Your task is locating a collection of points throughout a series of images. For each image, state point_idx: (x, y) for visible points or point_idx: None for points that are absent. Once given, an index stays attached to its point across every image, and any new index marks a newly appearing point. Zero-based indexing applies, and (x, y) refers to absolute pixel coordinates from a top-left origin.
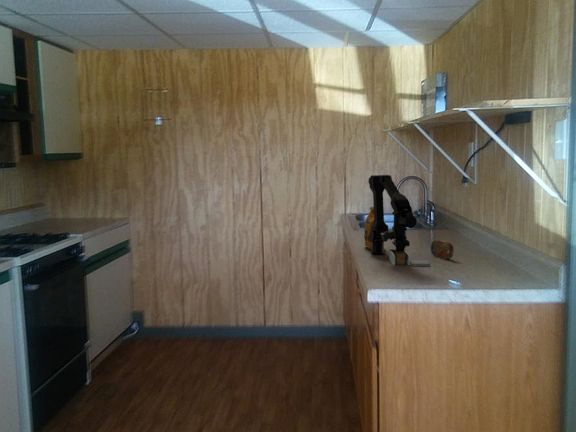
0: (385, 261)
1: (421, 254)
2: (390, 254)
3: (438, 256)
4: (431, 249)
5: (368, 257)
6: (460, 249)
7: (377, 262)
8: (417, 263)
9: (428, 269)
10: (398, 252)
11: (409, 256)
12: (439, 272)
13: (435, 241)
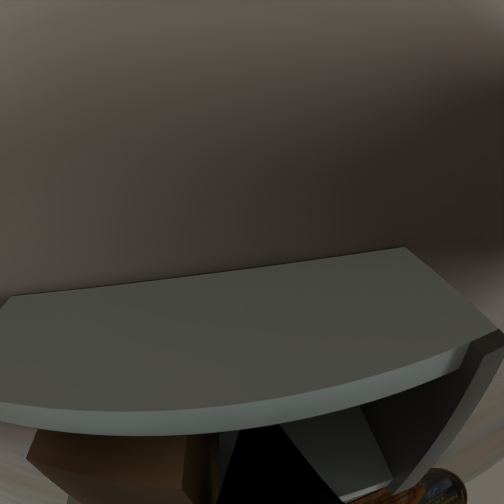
0: (259, 182)
1: (477, 421)
2: (320, 337)
3: (388, 490)
4: (455, 477)
5: (493, 5)
6: (475, 467)
7: (149, 38)
8: None
9: (33, 469)
10: (124, 498)
11: (73, 502)
12: (7, 476)
13: None
